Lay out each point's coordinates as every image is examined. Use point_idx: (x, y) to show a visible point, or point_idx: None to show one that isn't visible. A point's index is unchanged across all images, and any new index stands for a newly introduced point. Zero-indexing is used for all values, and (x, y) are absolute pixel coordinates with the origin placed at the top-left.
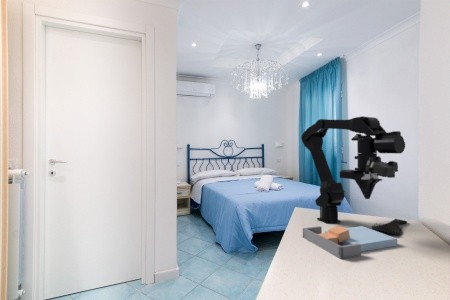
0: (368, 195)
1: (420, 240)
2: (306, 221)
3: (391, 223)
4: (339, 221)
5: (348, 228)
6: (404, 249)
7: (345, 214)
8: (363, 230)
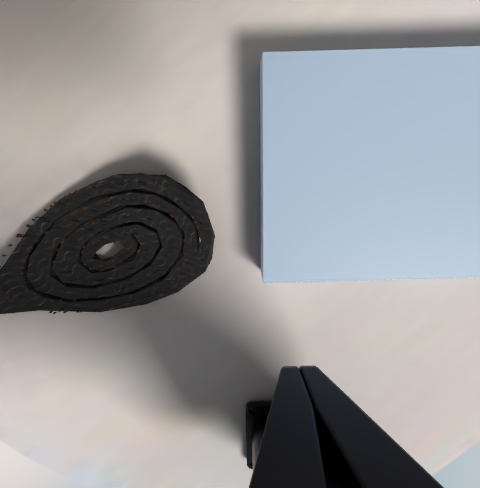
0: (330, 397)
1: (60, 81)
2: None
3: (20, 299)
4: (255, 405)
5: (374, 273)
6: (277, 4)
7: (119, 484)
8: (324, 224)
